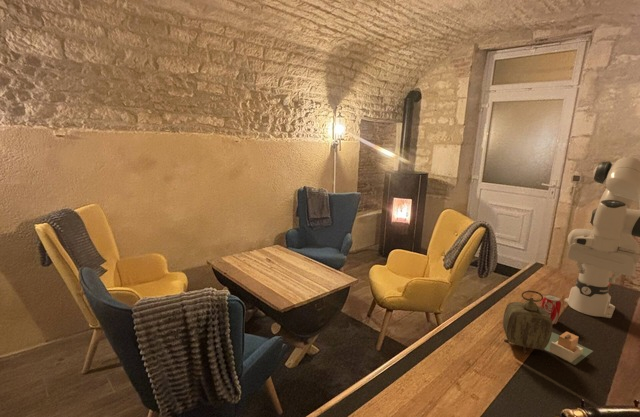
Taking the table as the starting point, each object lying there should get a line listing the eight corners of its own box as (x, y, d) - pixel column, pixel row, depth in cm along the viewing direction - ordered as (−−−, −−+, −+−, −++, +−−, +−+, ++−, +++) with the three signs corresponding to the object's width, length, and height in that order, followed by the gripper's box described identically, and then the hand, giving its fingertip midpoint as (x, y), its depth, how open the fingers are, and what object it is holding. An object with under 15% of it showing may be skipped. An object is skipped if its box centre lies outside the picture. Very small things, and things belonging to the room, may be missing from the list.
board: (537, 327, 144) (537, 325, 143) (592, 353, 127) (593, 350, 127) (517, 338, 135) (518, 336, 135) (574, 367, 119) (574, 365, 119)
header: (560, 343, 131) (562, 335, 130) (581, 354, 125) (584, 344, 124) (549, 351, 126) (551, 342, 125) (570, 362, 120) (573, 352, 119)
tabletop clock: (540, 348, 129) (552, 289, 124) (547, 362, 121) (560, 300, 116) (499, 339, 134) (509, 283, 128) (503, 353, 126) (514, 293, 120)
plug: (563, 347, 129) (566, 330, 127) (575, 353, 125) (579, 335, 124) (555, 352, 125) (559, 334, 124) (567, 358, 122) (571, 340, 120)
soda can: (560, 327, 144) (565, 302, 142) (542, 324, 146) (547, 300, 143) (552, 318, 151) (557, 294, 148) (535, 316, 152) (540, 292, 150)
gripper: (643, 250, 116) (634, 286, 120) (576, 235, 133) (569, 266, 136) (637, 253, 113) (628, 290, 116) (569, 237, 130) (562, 269, 133)
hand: (596, 277), depth 126 cm, fingers open, 8 cm apart
